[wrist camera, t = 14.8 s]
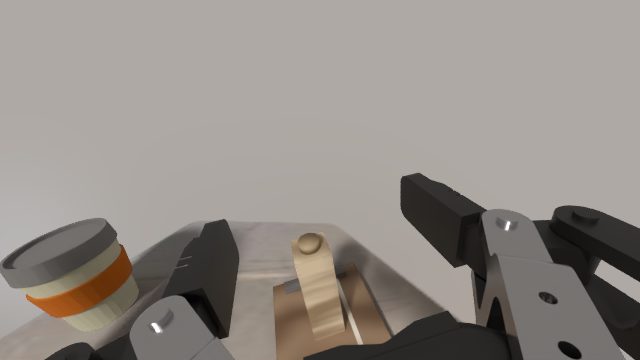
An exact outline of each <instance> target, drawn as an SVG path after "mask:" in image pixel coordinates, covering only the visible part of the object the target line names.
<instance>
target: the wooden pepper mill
mask: <svg viewBox="0 0 640 360" xmlns="http://www.w3.org/2000/svg"><path fill="white" fill-rule="evenodd" d="M291 246H292V252H293V257H294V263H295V267H296V271H297V275H298V279H299V282H300V286H301V290H302V293H303V297H304V301H305V304H306V308H307V312H308V316H309V319H310V323H311V327H312V330H313V334H314V338H315V341H317V340H320V339H323V338H326V337H329V336H332V335H334V334H337V333H340V332H343V331H345V326H344V321H343V315H342V309H341V304H340V298H339V292H338V287H337V281H336V275H335V270H334V264H333V258H332V253H331V251H330V248H329V246H328V243H327V241H326V238H325V236H324V233H323V232H321V233H317V234H314V233H307V234H304V235H302V236H301V237H300V238H299V239H295V240H292V241H291Z"/></svg>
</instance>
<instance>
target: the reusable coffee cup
mask: <svg viewBox="0 0 640 360" xmlns="http://www.w3.org/2000/svg"><path fill="white" fill-rule="evenodd" d="M116 237H117V233H116V231H115V230H114V229H113V228H112V227H111V225H110V224H109V223H108V222H107V221H106V220H105V219H103V218H93V219H87V220H83V221H79V222H75V223H72V224H69V225H67V226H64V227H61V228H58V229H56V230H53V231H51V232H49V233H46V234H44V235H42V236H40V237H38V238H36V239H34V240H32V241H30V242H29V243H26V244H25V245H23V246H21V247H20V248H18V249H16V250H15V251H13V252H12V253H11V254H9V255H8V256H7V257H6V258H4V259H3V260H2V261H1V263H0V273H1V274H2V275H3V277H4V278H5V280H6V281H7V283H8V284H9V285H10V287H12V288H19V289H20V290H22V291H23V292H25V293H26V298H27V299H28V300H29V301H30V302H32V303H33V304H35V305H36V306H37V307H39V308H41V309H42V310H43V311H45V312H46V313H48V314H49V315H51V316H53V317H56V318H62V319H64V320H65V321H67V322H68V323H70V324H71V325H73V326H74V327H75V328H77V329H78V330H80V331H82V332H89V331H94V330H97V329H99V328H102V327H104V326H106V325H108V324H110V323H111V322H113V321H114V320H116V319H117V318H119V317H120V316H121V315H123V314H124V313H125V312H126V311H127V310H128V309H129V308H130V307H131V306H132V305H133V304H134V302H135V301H136V299H137V297H138V295H139V289H138V287H137V284H136V282H135V280H134V277H133V275H132V273H131V272H132V265H131V263H130V261H129V258H128V256H127V254H126V251H125V249H124V247H123V245H121V244H119V243H118V241H117V238H116Z"/></svg>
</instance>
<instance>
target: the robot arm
mask: <svg viewBox="0 0 640 360" xmlns="http://www.w3.org/2000/svg"><path fill="white" fill-rule="evenodd" d="M401 210H402V213H403V215H404V217H405V218H406V219H407V220H408V221H409V222H410V223H411V224H412V225H413V226H414V227H415V228H416V229H417V230H418V231H419V232H420V233H421V234H422V235H423V236H424V237H425V238H426V239H427V241H429V242H430V244H431V245H432V246H433V247H434V248H435V249H436V250H437V251H438V252H439V253H440V254H441V255H442V256H443V257H444V258H445V259H446V260H447V261H448V262H449V263H450V264H451V265H452V266H453V267H454V268H456V267H459V266H463V265H466V264H467V265H468V266H469V267H470V268H471V269H472V271H471V279H472V287H473V296H474V305H475V313H476V324H471V323H462V322H456V320H455V319H454V318H453V317H452V315H451V314H450V313H449V311H445V312H442V313H439V314H436V315H433V316H429V317H426V318H423V319H420V320H417V321H414V322H413V323H411V324H410V325H409V326H407V327H406V328H404V329H403V330H402V331H400V332H399V333H397V334H396V335H395V336H393V337H392V338H391V339H389V340H388V341H386V342H385V343H382V344H361V345H340V346H337V347H334V348H330V349H327V350H324V351H321V352H318V353H315V354H312V355H309V356H306V357H303V360H626V359H625V358H624V356H623V354H622V352H621V351H620V349H619V347H620V348H621V349H622V350H624V351H625V352H626V353H627V354H628V355H630V356H631V357H632V358H633V359H635V360H640V303H639V302H637V301H636V300H634V299H632V298H631V297H629V296H627V295H626V294H625V293H623V292H622V291H620V290H618V289H617V288H615V287H614V286H612V285H611V284H609V283H608V282H606V281H604V280H603V279H601V278H600V277H598V276H597V275H595V274H594V273H595V270H596V268H597V267H598V265H599V263H600V261H601V260H603V261H605V262H607V263H608V264H610V265H612V266H613V267H615V268H617V269H619V270H620V271H622V272H624V273H626V274H627V275H629V276H631V277H632V278H634V279H636V280H637V281H639V282H640V228H637V227H635V226H633V225H630V224H628V223H626V222H624V221H621V220H619V219H617V218H614V217H612V216H610V215H607V214H605V213H603V212H600V211H597V210H594V209H590V208H586V207H581V206H561V207H558V208H556V209H555V211H554V214H553V217H552V219H551V220H538V221H531V220H530V219H529V218H527V217H526V216H524V215H522V214H520V213H517V212H513V211H510V210H502V209H493V210H488V211H487V210H486V209H484V208H482V207H481V206H479V205H478V204H476V203H474V202H473V201H471V200H469V199H468V198H466V197H465V196H463V195H460V193H458V192H456V191H453V190H452V189H451V188H450V187H448V186H446V185H445V184H442V183H439V182H436V181H432V180H430V179H428V178H427V177H425V176H423V175H422V174H420V173H415V174H411V175H407V176H403V177H402V178H401ZM238 266H239V253H238V249H237V246H236V243H235V241H234V238H233V235H232V233H231V230H230V228H229V225H228V223H227V221H226V220H225V219H222V220H218V221H214V222H210V223H206V224H205V225H204V228H203V230H202V233H201V235H200V237H198V238H194V239H193V240H192V241H191V242H190V243H189V244H188V246H187V247H186V248H185V249H184V251H183V253H182V256H181V258H180V260H179V262H178V264H177V266H176V269H175V270H174V273H173V275H172V277H171V279H170V281H169V283H168V285H167V288H166V290H165V292H164V294H163V296H162V298H161V300H159V301H157V302H156V303H154V304H152V305H151V306H150V307H148V308H147V309H146V310H145V311H144V312H143V313H142V314H141V315H140V316H139V317H138V318H137V320H136V321H135V322H134V324H133V326H132V328H131V331H130V333H128V334H126V335H125V336H123V337H121V338H119V339H117V340H115V341H113V342H111V343H109V344H108V345H106V346H104V347H102V348H100V349H98V350H96V351H95V350H94V349H93V348H92V347H91V346H90V345H89V344H88V343H84V342H81V343H75V344H72V345H69V346H67V347H65V348H63V349H61V350H59V351H57V352H55V353H54V354H52V355H51V356H49V357H48V358H47V359H45V360H235V359H234V358H233V357H232V355H231V354H230V353H229V351H228V350H227V349H226V348H225V346H224V345H223V344H222V342H221V341H220V340H219V339H222V338H226V337H228V336H229V329H230V322H231V315H232V308H233V301H234V294H235V287H236V280H237V273H238ZM618 346H619V347H618Z"/></svg>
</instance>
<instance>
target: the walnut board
mask: <svg viewBox="0 0 640 360" xmlns="http://www.w3.org/2000/svg"><path fill="white" fill-rule="evenodd" d="M334 270H335V275H336V281H337V287H338V292H339V298H340V304H341V309H342V315H343V321H344V326H345V331H343V332H340V333H337V334H334V335H332V336H329V337H326V338H323V339H320V340H317V341H315V338H314V334H313V330H312V327H311V323H310V319H309V316H308V312H307V308H306V304H305V301H304V297H303V293H302V290H301V286H300V282H299V279H294V280H291V281H288V282H284V284H281V285H278V286H275V287H273V295H274V314H275V332H276V350H277V360H303V357H306V356H309V355H312V354H315V353H318V352H321V351H324V350H327V349H330V348H334V347H337V346H340V345H361V344H382V343H385V342H386V341H388V340H389V339H391V336H390V334H389V332H388V330H387V328H386V326H385V324H384V322H383V320H382V318H381V316H380V314H379V312H378V310H377V308H376V306H375V304H374V302H373V300H372V298H371V296H370V294H369V293H368V291H367V289H366V287H365V285H364V283H363V281H362V279H361V277H360V275H359V273H358V271H357V269H356V267H355V265H354V263H351V264H348V265H344V266H343V265H341V266H338V267H334Z"/></svg>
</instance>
